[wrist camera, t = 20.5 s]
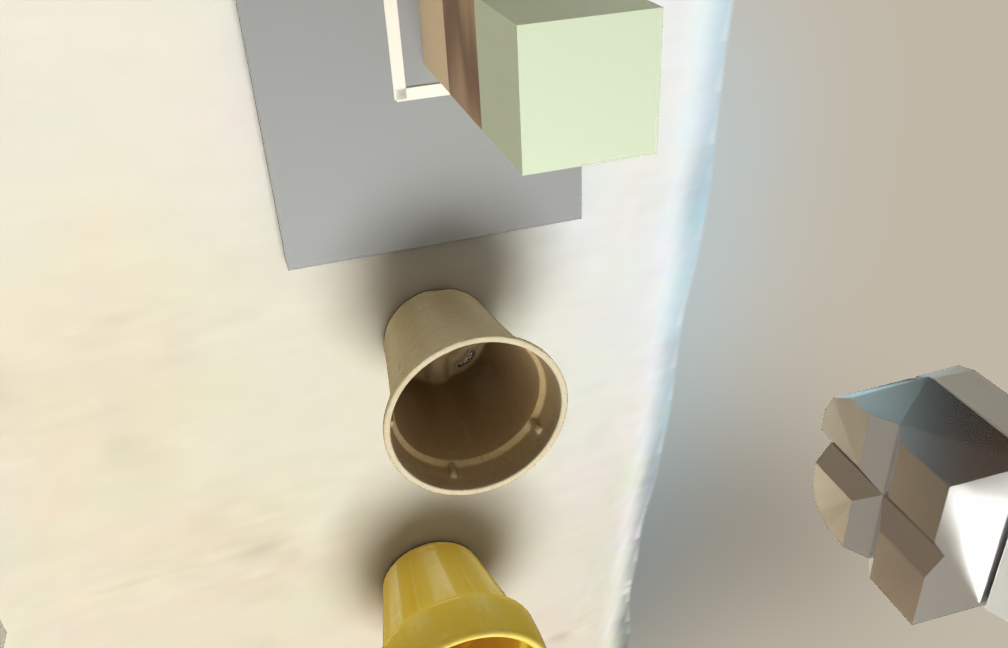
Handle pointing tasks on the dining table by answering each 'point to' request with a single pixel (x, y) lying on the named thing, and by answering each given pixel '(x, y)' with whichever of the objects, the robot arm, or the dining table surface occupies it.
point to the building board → (379, 134)
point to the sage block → (569, 80)
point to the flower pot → (466, 396)
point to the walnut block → (462, 55)
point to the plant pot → (450, 603)
